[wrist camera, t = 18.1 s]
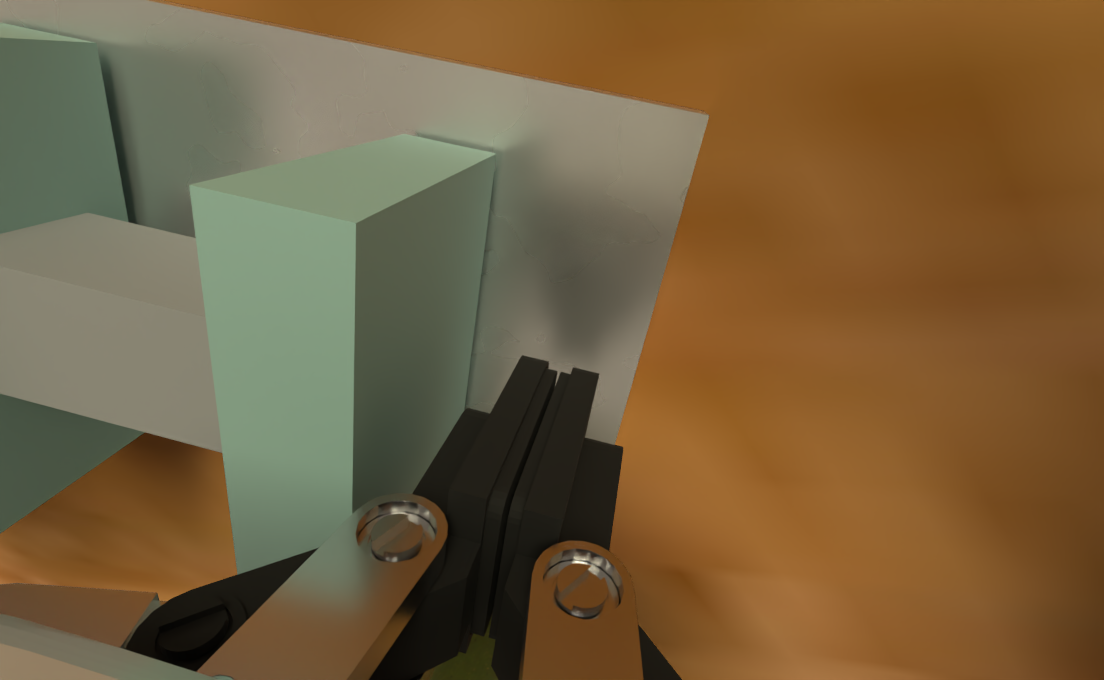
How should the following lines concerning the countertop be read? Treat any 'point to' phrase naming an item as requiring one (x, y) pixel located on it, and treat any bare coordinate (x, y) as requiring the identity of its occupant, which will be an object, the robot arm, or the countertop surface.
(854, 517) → the countertop surface
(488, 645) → the plant pot
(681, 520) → the countertop surface
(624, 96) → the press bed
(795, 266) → the countertop surface
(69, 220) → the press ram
